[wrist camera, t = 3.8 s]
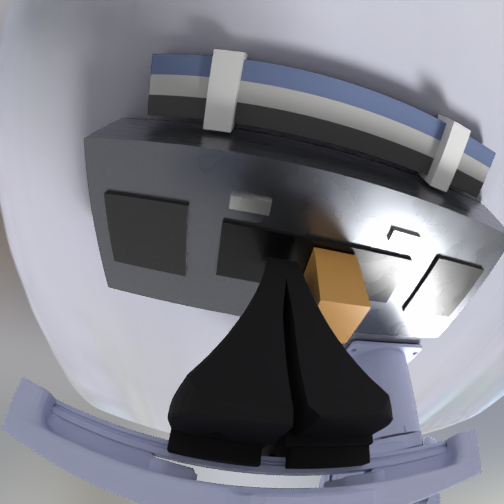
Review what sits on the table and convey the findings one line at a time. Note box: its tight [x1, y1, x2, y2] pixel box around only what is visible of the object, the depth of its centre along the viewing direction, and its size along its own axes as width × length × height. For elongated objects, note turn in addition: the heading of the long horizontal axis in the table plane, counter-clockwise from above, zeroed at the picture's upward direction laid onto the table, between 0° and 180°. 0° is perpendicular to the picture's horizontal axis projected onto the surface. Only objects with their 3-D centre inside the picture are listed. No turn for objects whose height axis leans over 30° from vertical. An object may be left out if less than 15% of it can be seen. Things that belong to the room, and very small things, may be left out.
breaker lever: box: [304, 247, 371, 344], centre depth 11 cm, size 2×2×3 cm
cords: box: [148, 49, 496, 197], centre depth 11 cm, size 4×18×2 cm, turn 81°
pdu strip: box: [84, 118, 504, 338], centre depth 14 cm, size 9×22×4 cm, turn 81°
